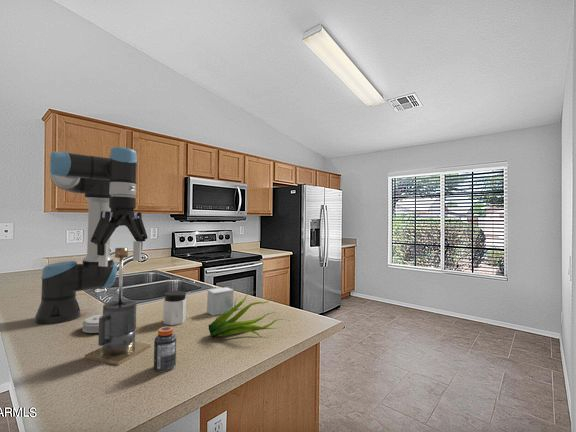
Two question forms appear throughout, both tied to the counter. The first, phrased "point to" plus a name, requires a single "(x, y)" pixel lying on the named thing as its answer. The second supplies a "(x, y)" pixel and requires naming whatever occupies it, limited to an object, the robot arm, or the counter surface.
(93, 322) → the white round disc
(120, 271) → the plunger
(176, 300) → the jar
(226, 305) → the skincare box
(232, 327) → the decorative plant
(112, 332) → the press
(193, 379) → the counter surface
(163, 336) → the pill bottle
